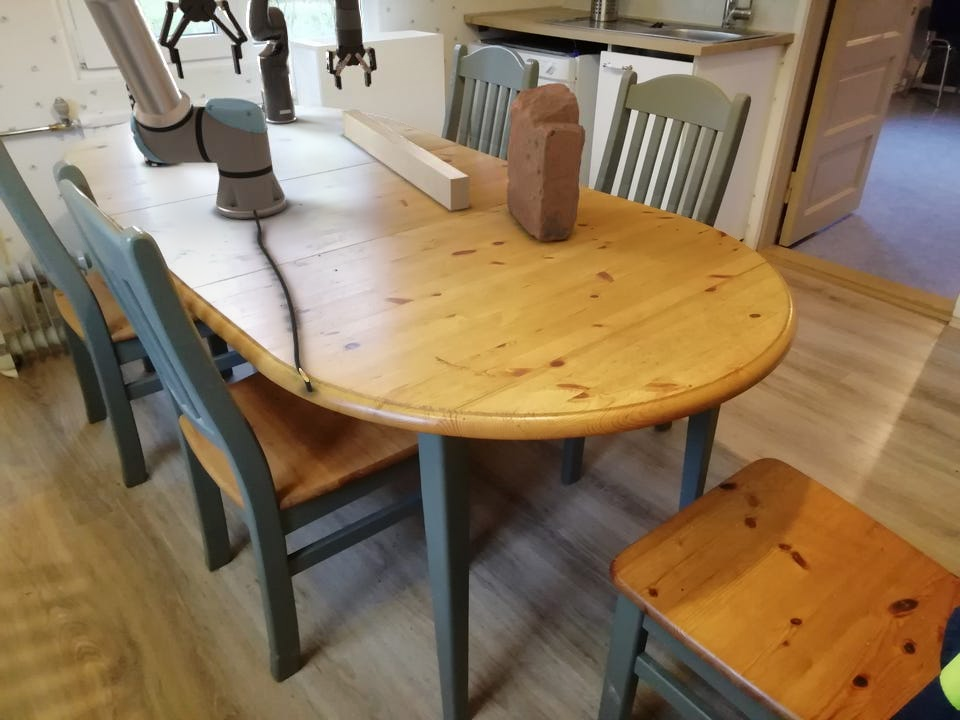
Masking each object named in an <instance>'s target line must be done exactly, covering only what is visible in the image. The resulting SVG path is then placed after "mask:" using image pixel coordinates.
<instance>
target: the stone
mask: <svg viewBox="0 0 960 720" xmlns="http://www.w3.org/2000/svg"><path fill="white" fill-rule="evenodd" d="M577 98H578V97H577V96H576V95H575V93H574V92H571V89H570V87H568V86H567V85H566V84H565V83H561V82H555V83H554V82H553V83H546V84H542V85H538V86H536V87H533V88H524V89H522V90H521V91H520V92H518V94H517V96H516V97H515V99H514V100H513V102H512V104H511V106H510V108H509V119H510V131H509V136H508V144H507V149H506V150H507V151H506V152H507V153H506V159H507V160H506V161H507V164H506V165H507V172H506V173H507V178H508V179H507V180H508V181H507V183H506V204H507V208H508V211H509V213H510V214H511V215H512V216H513V218H514V219H515V220H516V221H517V222H518V223H519V224H520V225H521V226H522V228H523V229H524V230H525V231H526V232H527V233H528V234H529V235H530V236H534V237H535V239H536V240H537V241H539V242H551V241H556V240H557V241H558V240H560V241H561V240H565V239H566V238H567V237H568V236H569V234H571V232H573V230H574V227H575V225H576V221H577V218H578V206H579V200H580V192H581V191H580V173H581V165H582V155H583V151H584V146H585V143H586V129H584V126H583V125H580V124H579V122H580V107H579V103H578V99H577Z"/></svg>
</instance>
